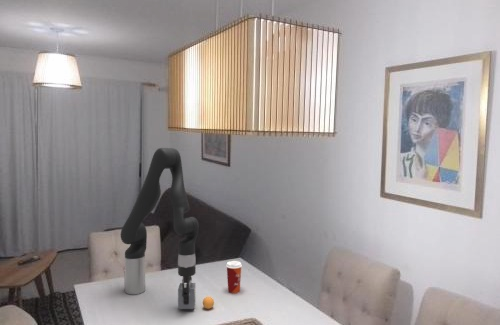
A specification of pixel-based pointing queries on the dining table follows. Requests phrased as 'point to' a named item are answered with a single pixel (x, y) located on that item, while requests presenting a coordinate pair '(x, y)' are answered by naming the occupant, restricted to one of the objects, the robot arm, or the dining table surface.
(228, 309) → the dining table surface
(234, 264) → the paper cup
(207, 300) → the ball
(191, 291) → the gray cube
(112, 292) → the dining table surface
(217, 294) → the dining table surface
